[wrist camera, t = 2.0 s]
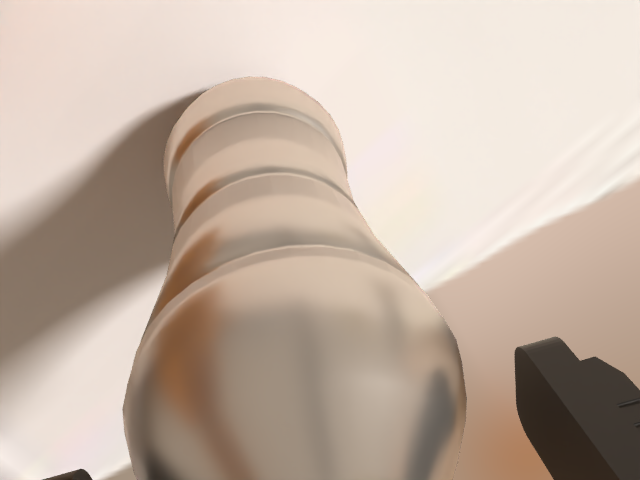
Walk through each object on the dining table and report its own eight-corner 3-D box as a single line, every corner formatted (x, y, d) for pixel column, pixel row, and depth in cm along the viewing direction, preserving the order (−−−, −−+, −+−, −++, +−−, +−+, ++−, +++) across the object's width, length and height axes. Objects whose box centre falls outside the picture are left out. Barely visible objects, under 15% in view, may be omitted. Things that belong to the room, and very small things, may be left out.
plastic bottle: (344, 190, 26) (628, 758, 9) (195, 230, 25) (179, 902, 8) (313, 43, 22) (679, 491, 5) (141, 88, 22) (-72, 719, 5)
